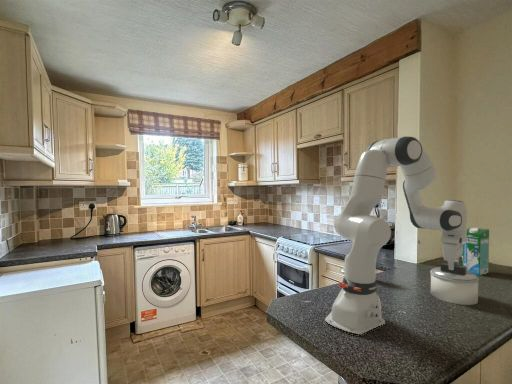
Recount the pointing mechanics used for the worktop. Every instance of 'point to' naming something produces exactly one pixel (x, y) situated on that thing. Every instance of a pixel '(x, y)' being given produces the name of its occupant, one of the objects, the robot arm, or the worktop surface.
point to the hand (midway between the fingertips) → (453, 267)
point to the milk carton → (476, 251)
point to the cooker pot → (454, 290)
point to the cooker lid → (454, 272)
